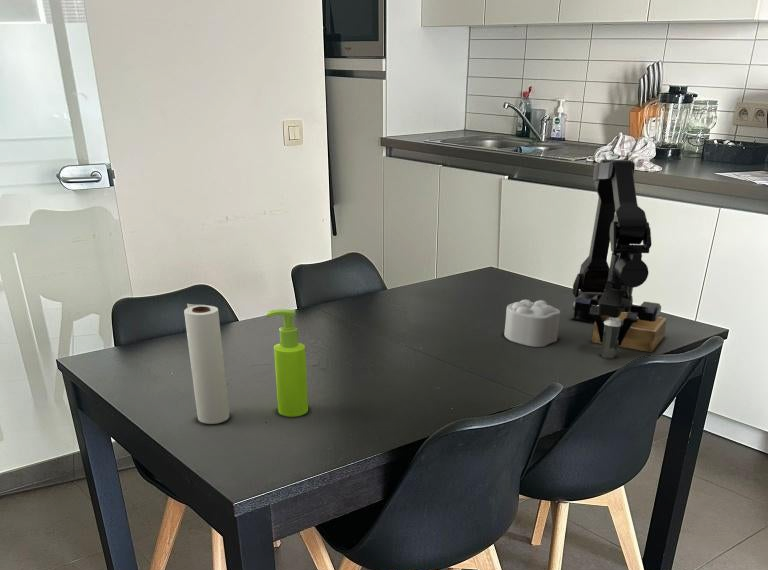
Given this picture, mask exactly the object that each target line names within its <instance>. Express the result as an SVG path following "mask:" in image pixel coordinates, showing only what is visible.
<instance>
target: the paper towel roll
mask: <svg viewBox="0 0 768 570" xmlns="http://www.w3.org/2000/svg"><path fill="white" fill-rule="evenodd" d="M186 305H187V307H186V308H185V309H183V314H184V322H185V329H186V330H185V331H186V335H187V345H188V353H189V359H190V367H191V376H192V383H193V391H194V398H195V406H196V408H195V409H196V414H197V415H196V416H197V420H198V421H199V422H200V423H202V424H208V425H214V424H221V423H224V422H226V421H227V420H228V419H230V409H229V400H228V399H229V398H228V391H227V390H228V389H227V380H226V370H225V361H224V351H223V342H222V331H221V325H220V324H221V323H220V313H219V308H218V307H217V306H214V305H208V304H191V303H186Z"/></svg>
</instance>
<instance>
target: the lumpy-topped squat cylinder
mask: <svg viewBox="0 0 768 570" xmlns="http://www.w3.org/2000/svg"><path fill="white" fill-rule="evenodd" d="M505 311H506V313H505V324H504V332H503V333H504V337H505V338H506V339H507V340H508V341H511V342H513V343H517V344H519V345H523V346H528V347H534V348H543V347H546V346H547V345H550V344H552V343H555V342H557V341H558V335H559V326H560V319H561V310H560V309H558V308H556V307H554V306H553V305H550V304H548V303H547V301H545V300H543V299H539V300H536V301H531V300H530V299H521V300H520V301H515V302H513V303H510V304H508V305H507V306H506V310H505Z"/></svg>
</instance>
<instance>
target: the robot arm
mask: <svg viewBox="0 0 768 570" xmlns="http://www.w3.org/2000/svg"><path fill="white" fill-rule="evenodd" d="M635 167H636V163H635V161H634V160H633V161H632V160H631V159H601V160H600V161H599V162H598V163H596V164H595V165H594V168H593V173H592V174H593V176H592V180H593V181H594V183H593V185H594V188H595V191H596V193H597V196H598V199H597V206H596V211H595V217H594V224H593V230H592V236H591V241H590V246H589V247H590V248H589V252H588V256H587V258H586V259H585V260H584V261H583V262H582V263H581V265H580V269H579V272H578V273H577V275H576V277H575V279H574V282H573V285H572V294H573V297H575V298H574V300H573V303H572V310H573V315H572V317H571V320H572V321H578V322H585V323H591V324H594V323H595V322H596V324H597V327H598V332H599V337H600V342H602V340H603V322H604V320H605V319H607V316H611V317H613V318H617V317H619V316H620V314H621V312H627V316H626V317H625V319H624V323H623V327H622V331H621V335H620V338H619V344H618V345H621V344H622V342H623V340H624V338H625V336H626V334H627V333H628V331H629V329H630V327H631V326H632V324H633V323H636V322H638V321H639V320H644V321H650V322H654V321H656V320H657V318H658V317H661V312H662V305H661V304H660V303H659V302H651V301H643V302H642V303H641V304H640V305H639V304H633V301H634V299H633V292H634V288H638V287H640V286H642V285H643V284H644V283H645V282H646V281H647V279H648V277H649V267H648V265H647V264H646V263H645V261H644V260H643V259H642V257H643V254H650V248H651V247H652V232H651V230H652V229H651V227H650V223H649V221H648V219H647V215H646V211H645V210H644V209H642V208H641V207H640V206H639V205H638V198H637V192H636V191H637V190H636V184H635V178H634V177H635ZM609 249H610V251H611V252H612V253H611V257H610V263H608V261H607V260H608V254H609Z"/></svg>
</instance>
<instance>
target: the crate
mask: <svg viewBox="0 0 768 570" xmlns="http://www.w3.org/2000/svg"><path fill="white" fill-rule="evenodd" d="M626 316H627V312H621V314H620V316H619V317H617V318H620V319H622V320H623V321H624V319H625V317H626ZM610 317H611V316H607V318H610ZM667 321H668V318H667V317H662V316H659V317H658V318H657V320H656V321H654V322H650V321H644V320H639V321H638V322H636V323H633V324H632V326H631V327H630V329H629V331H628V333H627V334H626V336H625V338H624V340H623V342H622V344H621V345H618V347H619V348H623V349H630V350H636V351H641V352H647V353H648V352H649V353H653V351H654V350H655V349H656V348H657V346H659V344H660V343H661V341H662V340H663V339H664V335H665V330H666V326H667ZM591 343H594V344H600V345H602V342H600V337H599V332H598V327H597V324H596V322H595V323H593V330H592V337H591ZM618 344H619V343H618ZM618 347H617V348H618Z"/></svg>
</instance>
